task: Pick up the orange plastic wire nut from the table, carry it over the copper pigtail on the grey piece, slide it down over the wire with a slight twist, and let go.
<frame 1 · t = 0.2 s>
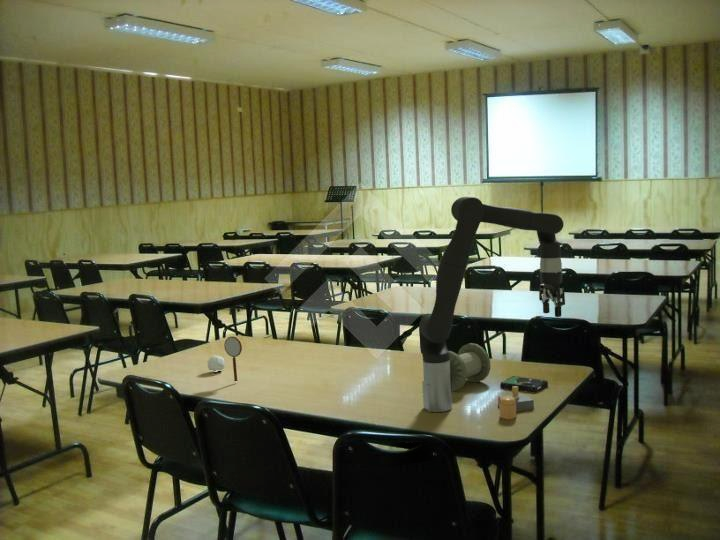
hand: (552, 314, 267), 29 cm above the table, fingers open, 8 cm apart
spool: (462, 386, 288), on the table
magnifying glass: (236, 383, 312), on the table
disk drive: (524, 388, 280), on the table
grey piece: (515, 406, 257), on the table
ball: (216, 372, 334), on the table
wire nut: (508, 416, 247), on the table
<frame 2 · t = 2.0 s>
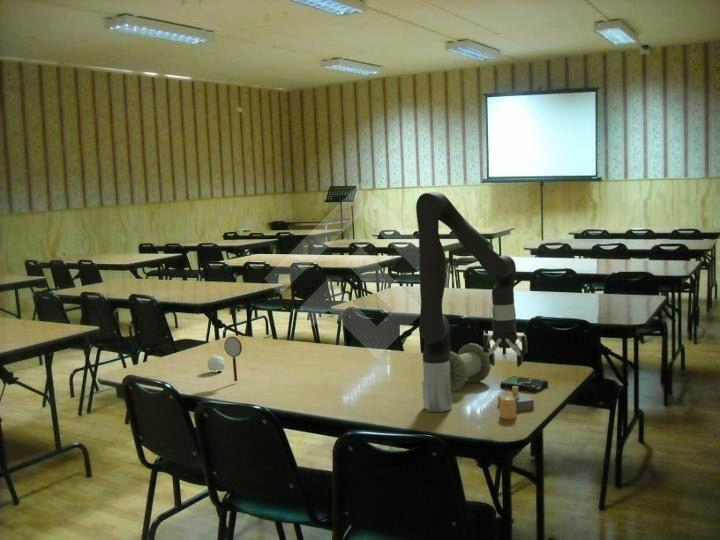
hand: (506, 365, 245), 17 cm above the table, fingers open, 8 cm apart
nothing on the table moved.
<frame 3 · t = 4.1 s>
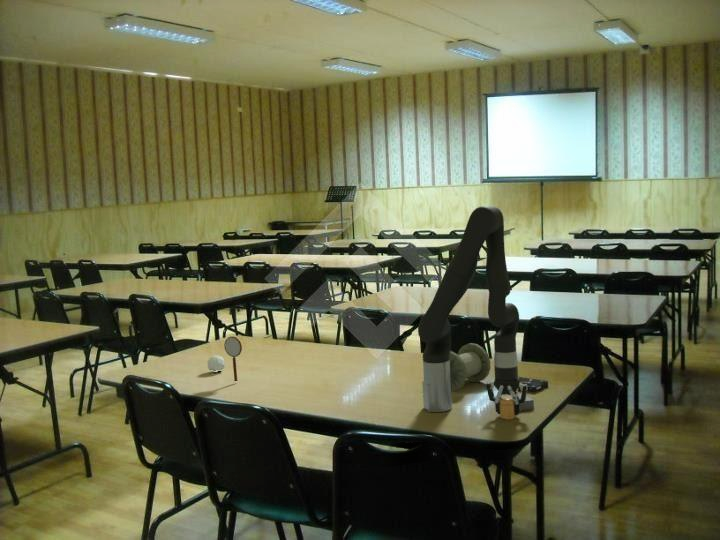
hand: (508, 413, 247), 1 cm above the table, fingers closed on wire nut, 5 cm apart
wire nut: (508, 416, 247), on the table, touching gripper
everything else where it was.
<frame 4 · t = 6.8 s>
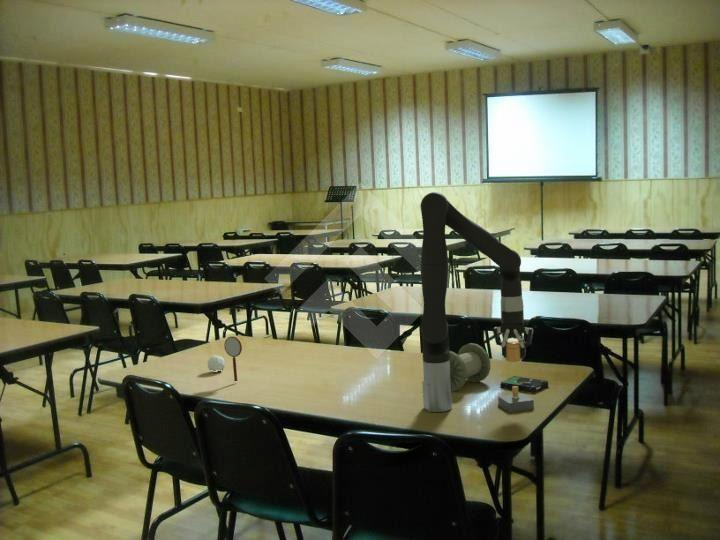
hand: (514, 357, 255), 17 cm above the table, fingers closed on wire nut, 5 cm apart
wire nut: (514, 360, 255), point 17 cm above the table, touching gripper
everything else where it was.
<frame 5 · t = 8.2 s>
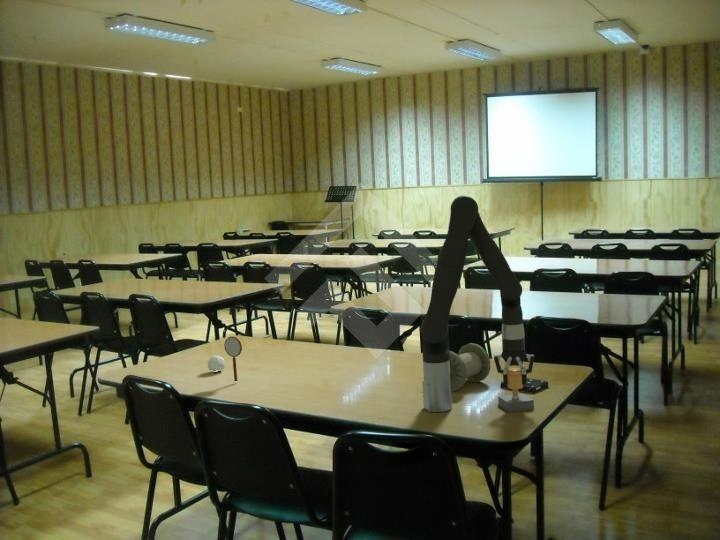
hand: (515, 384, 257), 8 cm above the table, fingers closed on wire nut, 5 cm apart
wire nut: (515, 387, 257), point 7 cm above the table, touching gripper
everything else where it was.
when the fingers open (5 cm above the table, at t = 9.6 s): wire nut stays where it is, resting on grey piece.
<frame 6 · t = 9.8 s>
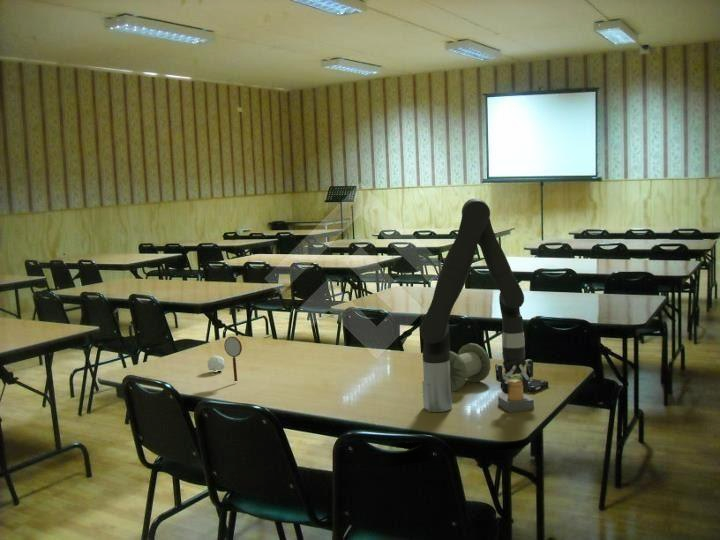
hand: (515, 391, 257), 5 cm above the table, fingers open, 7 cm apart
wire nut: (515, 398, 257), point 3 cm above the table, touching grey piece
everything else where it was.
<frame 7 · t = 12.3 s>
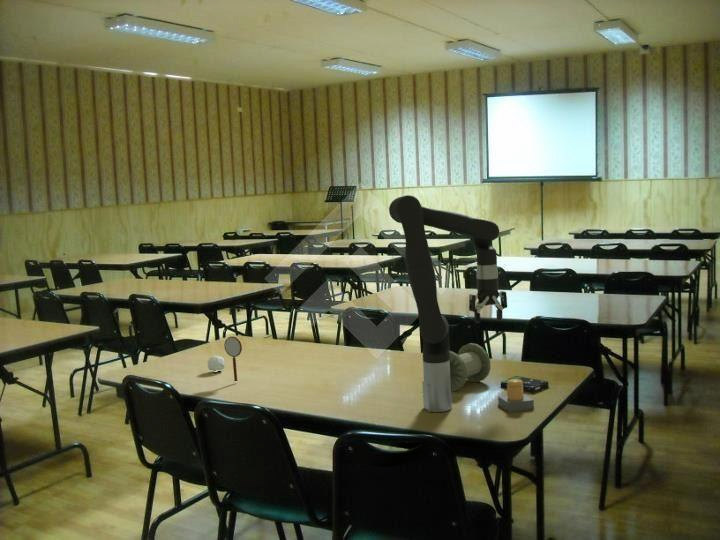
hand: (488, 321, 267), 28 cm above the table, fingers open, 8 cm apart
nothing on the table moved.
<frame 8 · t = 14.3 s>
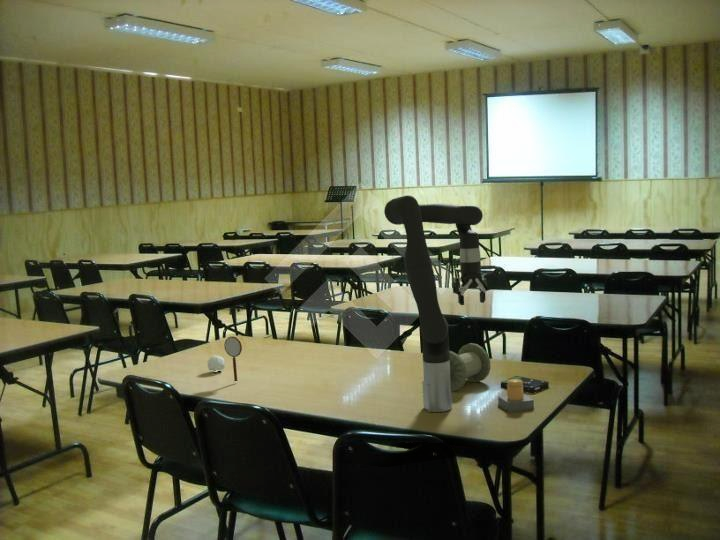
hand: (472, 303, 276), 33 cm above the table, fingers open, 8 cm apart
nothing on the table moved.
at the end: wire nut 0.0 cm off-centre on the grey piece, point 3.0 cm above the grey piece's base; wire nut tilted 0°; the gripper is holding nothing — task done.
